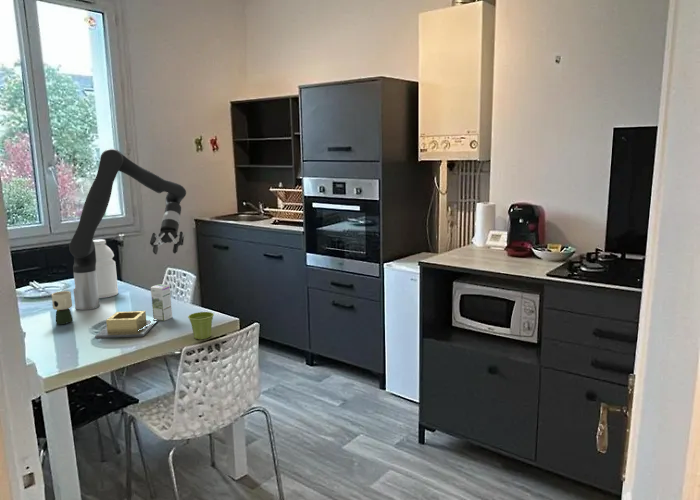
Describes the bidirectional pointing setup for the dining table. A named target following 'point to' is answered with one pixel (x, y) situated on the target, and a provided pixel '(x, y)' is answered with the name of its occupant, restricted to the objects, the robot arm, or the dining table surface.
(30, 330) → the dining table surface
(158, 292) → the syrup box
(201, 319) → the plant pot
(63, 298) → the character mug
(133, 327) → the hitch plate
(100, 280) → the bottle
